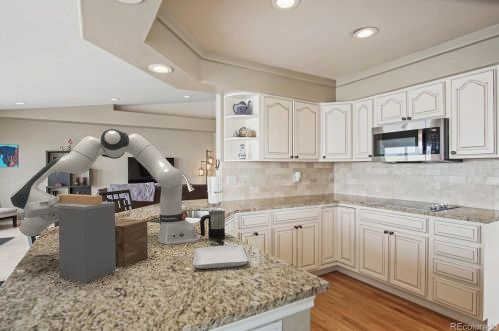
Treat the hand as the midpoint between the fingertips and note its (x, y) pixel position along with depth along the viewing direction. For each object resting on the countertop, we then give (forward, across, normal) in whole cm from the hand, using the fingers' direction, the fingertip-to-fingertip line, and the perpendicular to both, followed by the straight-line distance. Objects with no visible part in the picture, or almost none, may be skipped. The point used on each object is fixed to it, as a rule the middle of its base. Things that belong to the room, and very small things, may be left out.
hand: (65, 197), depth 104 cm
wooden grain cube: (-3, +16, +31) cm, 35 cm away
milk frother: (+16, +55, +42) cm, 71 cm away
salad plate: (+30, +30, +50) cm, 66 cm away
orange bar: (+6, 0, +6) cm, 8 cm away
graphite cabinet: (-3, 0, +31) cm, 31 cm away
